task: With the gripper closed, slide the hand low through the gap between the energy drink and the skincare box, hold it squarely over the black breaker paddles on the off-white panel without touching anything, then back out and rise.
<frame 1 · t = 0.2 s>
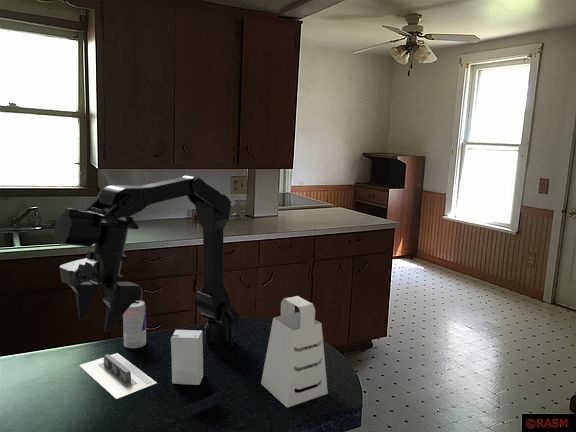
hand: (93, 325, 93), 15 cm above the countertop, tool pointing down, fingers open, 9 cm apart
skincare box: (187, 386, 101), on the countertop
grater: (293, 389, 101), on the countertop
energy drink: (135, 349, 116), on the countertop
breaker panel: (117, 380, 101), on the countertop
breaker paddles: (116, 368, 101), point 3 cm above the countertop, hinge at 0.0°
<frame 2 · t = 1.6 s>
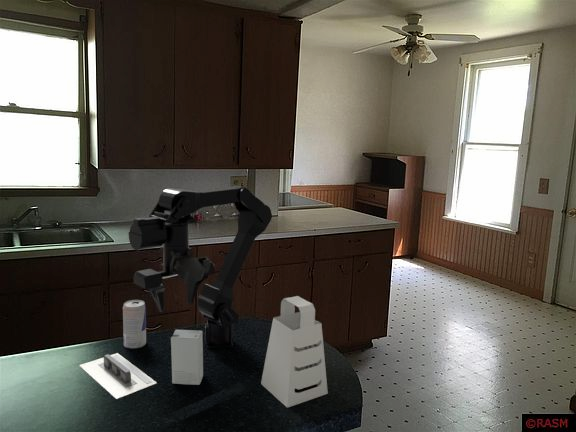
hand: (176, 307, 110), 13 cm above the countertop, tool pointing down, fingers open, 8 cm apart
nothing on the countertop moved.
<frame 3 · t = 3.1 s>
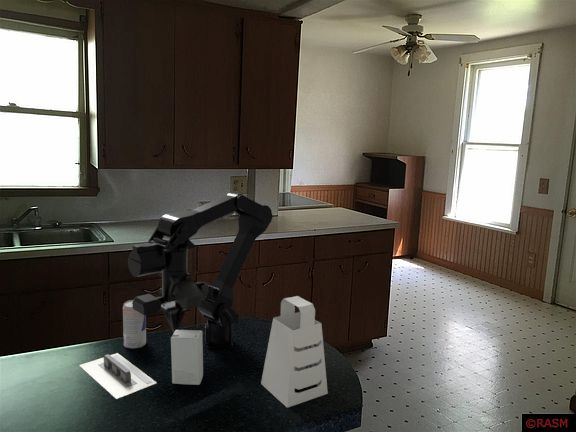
hand: (174, 331, 111), 7 cm above the countertop, tool pointing down, fingers closed
nothing on the countertop moved.
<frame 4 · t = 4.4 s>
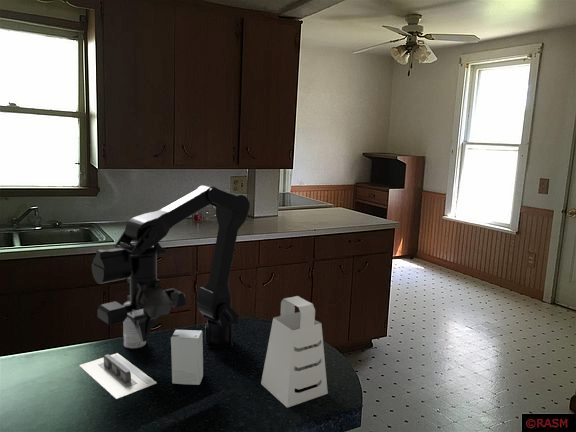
hand: (143, 340, 105), 7 cm above the countertop, tool pointing down, fingers closed
nothing on the countertop moved.
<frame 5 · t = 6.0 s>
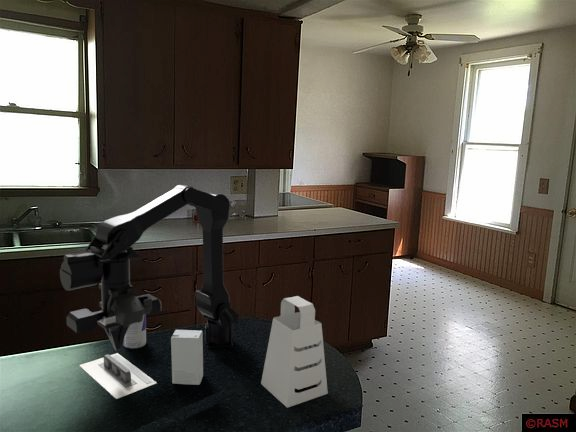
hand: (117, 349, 100), 7 cm above the countertop, tool pointing down, fingers closed
nothing on the countertop moved.
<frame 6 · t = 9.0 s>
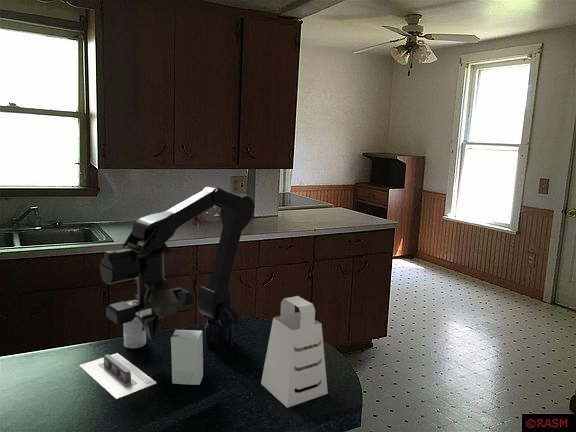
hand: (152, 339, 106), 7 cm above the countertop, tool pointing down, fingers closed
nothing on the countertop moved.
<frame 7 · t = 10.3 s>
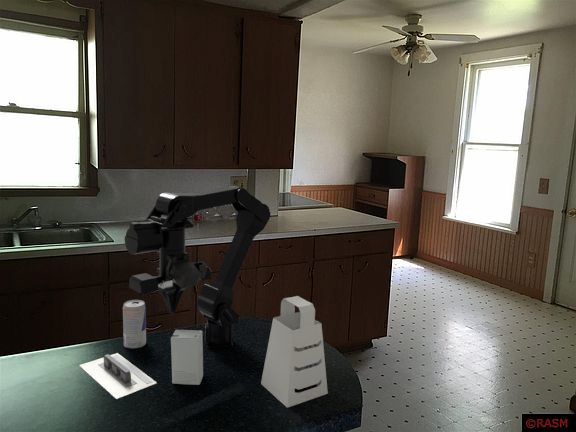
hand: (172, 312, 109), 12 cm above the countertop, tool pointing down, fingers closed
nothing on the countertop moved.
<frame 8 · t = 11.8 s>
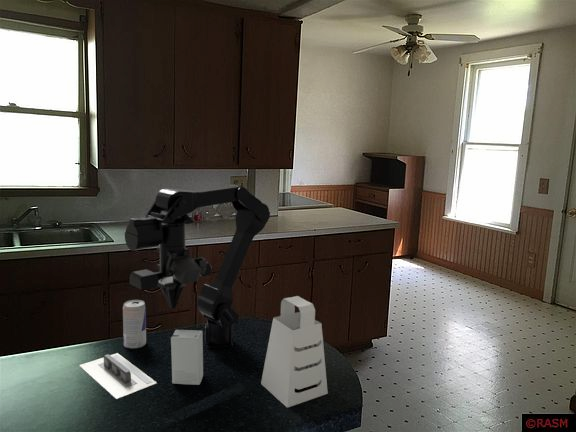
hand: (172, 308, 109), 13 cm above the countertop, tool pointing down, fingers closed
nothing on the countertop moved.
at the end: energy drink moved 0.2 cm from its start; skincare box moved 0.2 cm from its start; breaker paddles at +0° (first picture: +0°) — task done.
